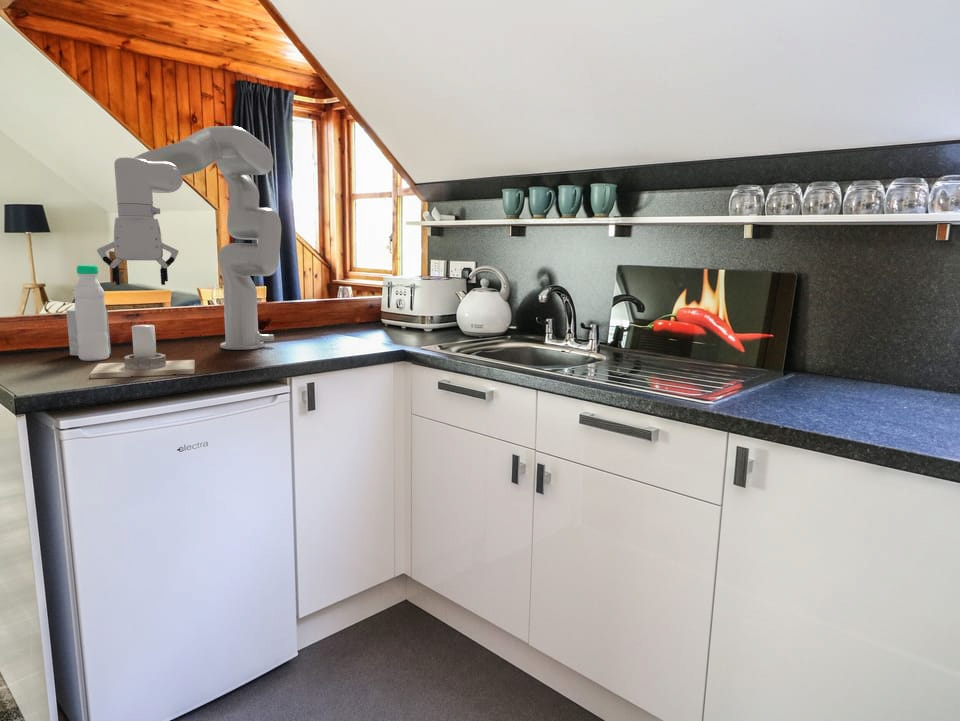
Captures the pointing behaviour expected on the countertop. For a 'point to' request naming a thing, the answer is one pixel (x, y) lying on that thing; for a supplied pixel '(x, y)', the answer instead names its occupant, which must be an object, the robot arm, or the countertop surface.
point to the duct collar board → (143, 367)
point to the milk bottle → (90, 315)
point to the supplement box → (73, 332)
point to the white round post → (144, 341)
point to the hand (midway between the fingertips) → (141, 284)
